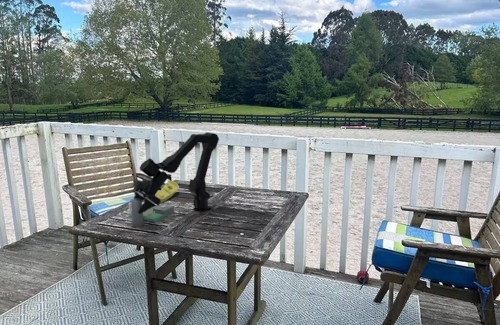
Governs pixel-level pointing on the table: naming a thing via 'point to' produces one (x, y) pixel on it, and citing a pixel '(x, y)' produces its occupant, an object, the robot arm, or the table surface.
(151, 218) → the header board
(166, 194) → the plastic component
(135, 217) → the plug
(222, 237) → the table surface
